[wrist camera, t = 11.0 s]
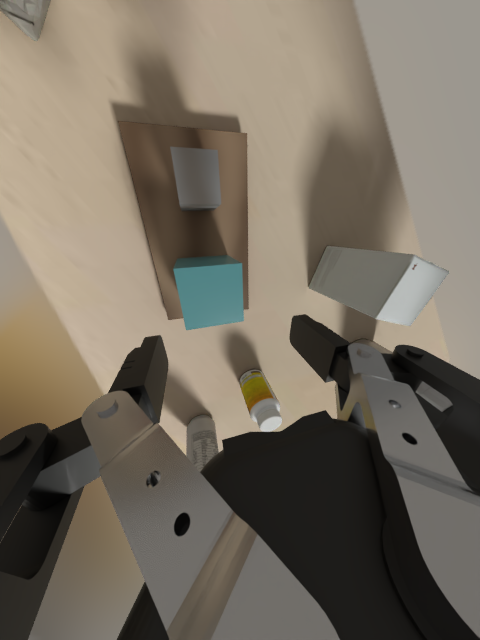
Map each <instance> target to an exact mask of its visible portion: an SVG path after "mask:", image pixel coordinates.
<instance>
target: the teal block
mask: <svg viewBox="0 0 480 640" xmlns="http://www.w3.org/2000/svg"><path fill="white" fill-rule="evenodd" d="M173 270H174V275H175V280H176V284H177V289H178V294H179V299H180V303H181V308H182V313H183V317H184V322H185V327H186V330H191V329H197V328H203V327H210V326H216V325H222V324H229V323H235V322H241V321H244V314H243V278H242V263H241V262H239V261H237V260H236V259H234V258H232V257H230V256H229V255H221V256H207V257H193V258H179V259H177V261H176V263H175V266H174V268H173Z"/></svg>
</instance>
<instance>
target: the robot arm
mask: <svg viewBox="0 0 480 640" xmlns="http://www.w3.org/2000/svg"><path fill="white" fill-rule="evenodd" d="M290 342H291V345H292V346H293V347H294V348H295V349H296V350H297V352H298V353H299V354H300V355H301V356H302V357H303V358H304V359H305V360H306V362H307V363H308V364H309V365H310V366H311V367H312V368H313V369H314V370H315V372H316V373H317V374H318V375H319V376H320V377H321V378H322V379H323V380H324V382H325V383H326V382H330V381H334V380H335V381H336V385H335V394H336V405H337V419H332V418H331V417H330V415H329V414H328V413H327V411H326V410H325V411H321V412H318V413H314V414H311V415H307V416H304V417H302V418H300V419H299V420H297V421H296V422H295V423H293V424H292V425H290V426H289V427H287V428H286V429H284V430H283V431H280V432H249V433H245V434H242V435H238V436H235V437H231V438H228V439H224V440H222V442H223V450H222V451H221V452H219V453H218V454H216V455H215V456H214V457H213V458H212V459H211V460H210V461H209V462H208V463H207V464H206V465H205V466H204V467H203V469H202V470H201V471H200V472H199V471H198V469H197V468H196V467H195V466H194V465H193V464H192V462H191V461H190V460H189V459H188V458H187V457H186V455H185V454H184V453H183V452H182V451H181V449H180V448H179V447H178V446H177V445H176V444H175V442H174V441H173V440H172V439H171V438H170V437H169V435H168V434H167V433H166V432H165V431H164V430H163V428H162V427H161V426H160V425H159V424H158V423H159V422H160V416H161V410H162V403H163V397H164V391H165V385H166V379H167V373H168V358H167V354H166V351H165V347H164V344H163V340H162V337H161V336H160V335H158V336H151V337H145V338H144V340H143V343H142V345H141V347H139V348H135V349H134V350H132V351H131V352H130V353H129V354H128V355H127V357H126V359H125V361H124V364H123V365H122V367H121V370H120V371H119V373H118V375H117V377H116V378H115V380H114V382H113V384H112V386H111V388H110V390H109V392H108V394H105V395H103V396H101V397H100V398H98V399H97V400H95V401H94V402H93V403H92V404H91V405H89V407H88V408H87V409H86V410H85V411H84V413H83V415H82V417H80V418H78V419H76V420H74V421H72V422H70V423H67V424H65V425H63V426H60V427H58V428H56V429H53V430H50V429H49V428H48V427H47V426H46V425H45V424H42V423H37V424H31V425H28V426H25V427H22V428H20V429H18V430H16V431H14V432H12V433H10V434H8V435H7V436H5V437H4V438H2V439H1V440H0V542H1V543H0V640H28V638H29V635H30V632H31V629H32V627H33V624H34V621H35V618H36V616H37V613H38V611H39V608H40V605H41V602H42V600H43V597H44V594H45V591H46V589H47V586H48V583H49V580H50V578H51V575H52V572H53V570H54V567H55V564H56V562H57V559H58V556H59V553H60V551H61V548H62V545H63V543H64V540H65V537H66V534H67V532H68V529H69V526H70V524H71V521H72V518H73V515H74V513H75V510H76V507H77V505H78V502H79V499H80V496H81V494H82V491H83V488H84V486H85V485H86V484H88V483H90V482H91V481H93V480H95V479H96V478H98V477H100V476H101V478H102V480H103V483H104V485H105V487H106V490H107V492H108V495H109V497H110V500H111V502H112V504H113V507H114V509H115V511H116V514H117V516H118V518H119V520H120V523H121V525H122V528H123V530H124V532H125V535H126V537H127V539H128V542H129V544H130V547H131V549H132V551H133V554H134V556H135V558H136V560H137V563H138V565H139V568H140V570H141V572H142V575H143V577H144V579H145V582H144V584H143V587H142V589H141V591H140V593H139V595H138V597H137V599H136V601H135V603H134V605H133V607H132V609H131V611H130V613H129V615H128V617H127V619H126V622H125V624H124V626H123V628H122V630H121V632H120V634H119V636H118V638H117V640H480V380H479V379H477V378H475V377H473V376H471V375H470V374H468V373H466V372H464V371H462V370H460V369H458V368H456V367H454V366H453V365H451V364H449V363H447V362H445V361H443V360H441V359H439V358H438V357H436V356H434V355H432V354H430V353H428V352H426V351H424V350H422V349H420V348H417V347H413V346H409V345H398V346H396V347H395V349H394V351H393V352H391V351H389V350H387V349H386V348H384V347H382V346H381V345H379V344H377V343H376V342H374V341H373V342H371V341H369V340H367V339H360V340H357V341H355V342H353V343H352V344H350V343H349V342H348V341H346V340H345V339H343V338H342V337H340V336H339V335H337V334H336V333H335V332H334V333H333V331H332V330H330V329H328V328H327V327H326V326H324V325H323V324H321V323H319V322H316V321H314V320H313V319H312V318H310V317H309V316H307V315H305V314H304V315H297V316H293V318H292V322H291V330H290ZM21 505H22V506H21ZM20 507H21V508H20ZM19 508H20V509H19ZM18 510H19V511H18ZM17 512H18V513H17ZM16 514H17V515H16ZM15 515H16V516H15ZM14 517H15V518H14ZM13 519H14V520H13ZM12 521H13V522H12ZM11 522H12V523H11ZM10 524H11V525H10ZM9 526H10V527H9ZM8 527H9V529H8ZM7 529H8V530H7ZM6 531H7V532H6ZM5 533H6V534H5ZM4 535H5V536H4ZM3 536H4V538H3ZM2 538H3V539H2ZM1 540H2V541H1Z"/></svg>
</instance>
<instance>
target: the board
mask: <svg viewBox="0 0 480 640" xmlns="http://www.w3.org/2000/svg"><path fill="white" fill-rule="evenodd" d="M118 123H119V127H120V131H121V134H122V138H123V142H124V146H125V150H126V154H127V158H128V162H129V166H130V170H131V174H132V178H133V182H134V186H135V190H136V194H137V198H138V202H139V206H140V209H141V213H142V217H143V221H144V225H145V229H146V233H147V237H148V241H149V245H150V249H151V253H152V257H153V261H154V265H155V269H156V273H157V277H158V281H159V284H160V288H161V292H162V296H163V300H164V304H165V308H166V312H167V316H168V320H172V319H180V318H184V317H183V313H182V308H181V303H180V299H179V294H178V289H177V284H176V280H175V275H174V270H173V268H174V266H175V263H176V261H177V259H179V258H193V257H207V256H221V255H229V256H230V257H232V258H234V259H236V260H237V261H239V262H241V263H242V278H243V310H244V309H248V197H247V133H238V132H227V131H217V130H207V129H196V128H186V127H175V126H165V125H155V124H144V123H134V122H123V121H118Z"/></svg>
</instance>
